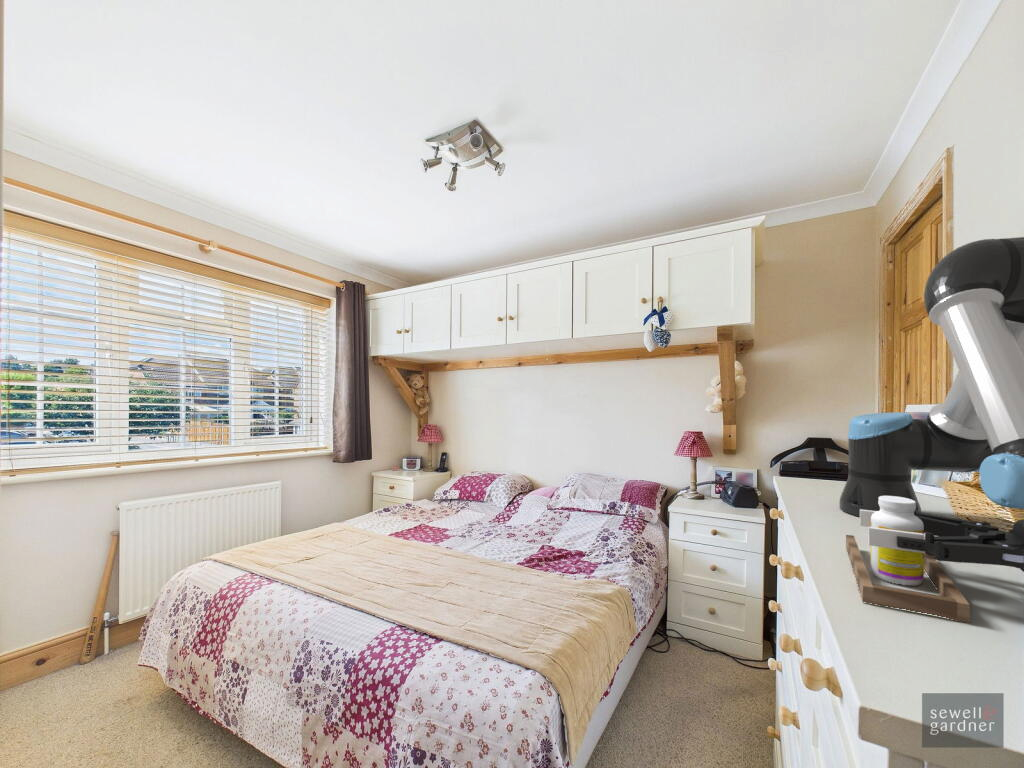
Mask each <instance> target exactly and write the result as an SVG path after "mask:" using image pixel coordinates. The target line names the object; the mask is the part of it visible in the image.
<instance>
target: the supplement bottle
mask: <svg viewBox="0 0 1024 768" xmlns="http://www.w3.org/2000/svg"><path fill="white" fill-rule="evenodd" d="M878 504H879V506H880V511H877V512H875V513H873V514H872V516H871V527H874V528H882V529H890V530H898V531H906V532H914V533H922V534H923V535H924V536H925V533H924V524H923V522H922V521H921V520H920V519H919V518H918V517H916V516H914V511H915V509H916V502H915V501H914V500H911V499H908V498H903V497H897V496H880V497H879V499H878ZM870 571H871V574H872V575H874V576H875V577H876V578H878V579H879V578H880V580H881V581H884V580H885V582H887V581H889V582H888V583H890V582H893V583H892V584H894V583H897V584H896V585H898V584H904V585H903V586H906V585H916V586H920V585H922V584H923V583H924V580H925V579H924V578H925V577H924V576H925V575H924V573H925V571H924V553H919V552H912V551H905V550H898V549H891V548H884V547H877V546H870Z"/></svg>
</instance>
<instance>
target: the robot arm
mask: <svg viewBox="0 0 1024 768" xmlns="http://www.w3.org/2000/svg"><path fill="white" fill-rule="evenodd" d="M923 299H924V300H923V301H924V309H926V313H927V315H928V318H929V320H930V322H932V323H933V324H934V325H936V326H940V328H941V329H942V332H943V335H944V337H945V339H946V342H947V344H948V347H949V350H950V352H951V353H952V357H953V358H954V362H955V364H956V366H957V368H958V372H957V373H956V375H955V378H954V380H953V382H952V384H951V387H950V388H949V390H948V392H947V395H946V397H945V398H944V401H943V403H938V404H935V405H934V406H932V407H931V409H930V410H929V412H928V414H927V416H926V418H914V417H913V416H912V413H911V414H910V413H908V412H903V411H901V412H899V411H898V412H897V411H896V412H895V411H894V412H875V413H868V414H860V415H858V416H854V417H853V418H852V419H850V421H849V423H848V433H847V439H848V475H847V476H848V477H847V480H846V482H845V485H844V487H843V489H842V492H841V495H840V496H839V497H840V498H839V509H840V511H843V512H844V513H847V514H850V515H853V516H856V517H859V526H861V527H868V529H867V530H868V531H867V534H868V536H867V538H868V541H867V543H868V546H870V547H871V546H877V547H884V548H891V549H898V550H905V551H912V552H919V553H924V551H925V554H927V555H930V556H934V559H935V560H936V561H937V562H938V561H939V562H953V563H962V564H963V563H965V564H967V563H968V564H978V565H980V564H981V565H994V566H1005V567H1010V568H1011V567H1012V568H1016V569H1020V571H1021V572H1023V573H1024V519H1019V520H1017V521H1015V523H1013V525H1012V529H1010V531H1006V530H1001V529H999V527H998V526H995V525H992V524H991V523H990V522H987V521H975V520H968V519H967V520H966V519H961V518H957V517H956V518H953V517H949V516H943V515H935V514H930V513H922V507H921V505H920V503H919V500H918V497H917V495H916V492H915V490H914V487H913V485H912V471H913V470H914V471H916V470H917V471H935V472H954V473H955V472H956V473H975V472H976V473H977V472H978V473H979V476H980V480H979V484H980V487H981V489H982V491H983V493H984V495H985V496H986V497H987V498H988V499H989V500H990V501H991V502H992V503H994V504H995V505H997V506H1001V507H1003V508H1010V509H1018V510H1024V236H1020V237H1008V238H1007V237H1005V238H987V239H986V238H985V239H984V238H983V239H980V240H976V241H972V242H969V243H966V244H963V245H961V246H958V247H956V248H955V249H954V250H952V251H950V252H948V254H946V255H945V256H944V257H942V258H941V259H940V261H939V262H938V263H937V264H936V265H935V266H934V268H933V269H932V271H931V272H930V274H929V276H928V277H927V279H926V282H925V287H924V293H923ZM880 496H897V497H903V498H908V499H911V500H914V501H915V502H916V509H915V511H914V516H916V517H918V518H919V519H920V520H921V521H922V522H923V524H924V535H923V534H922V533H914V532H906V531H898V530H890V529H882V528H874V527H871V516H872V514H873V513H875V512H877V511H880V506H879V504H878V499H879V497H880ZM924 537H925V540H924Z"/></svg>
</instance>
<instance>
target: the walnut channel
mask: <svg viewBox="0 0 1024 768" xmlns="http://www.w3.org/2000/svg"><path fill="white" fill-rule="evenodd" d="M857 543H858V542H857V540H856V538H855V535H851V534H845V549H846V552H848V553H847V555H848V558H849V559H848V560H849V563H850V562H851V563H850V565H852V566H851V569H852V568H853V569H852V573H853V576H854V575H855V576H854V579H855V578H856V579H855V582H856V581H857V582H856V584H858V586H857V588H858V587H859V589H858V592H859V591H860V592H859V594H861V595H860V598H862V599H861V602H862V601H863V602H866V603H872V604H877V605H880V606H879V607H882V606H888V607H893V608H899V609H906V610H910V611H915V612H921V613H927V614H932V615H937V616H941V617H946V618H949V619H953V620H952V621H955V620H957V621H956V622H960V621H961V623H965V622H966V624H970V611H971V610H970V607H971V606H970V603H969V602H968V600H966V598H965V597H964V596H963V594H962V593H961V591H960V590H959V589H958V587H957V586H956V585H955V583H954V582H953V581H952V579H951V578H950V576H949V575H948V574H947V572H946V571H944V569H943V568H942V567H941V565H940V564H939V562H938V560H936V559H934V557H933V556H930V555H927V554H925V551H924V570H925V571H924V573H925V572H926V573H927V574H926V573H925V574H926V576H927V575H928V576H929V577H928V576H927V577H928V579H929V578H930V579H931V580H930V579H929V580H930V582H931V581H932V582H933V583H932V582H931V583H932V585H933V584H934V585H935V586H934V585H933V586H934V588H935V587H936V588H937V589H936V588H935V589H936V591H937V590H938V591H937V592H939V593H940V594H939V593H938V594H939V595H938V594H932V593H926V592H921V591H915V590H910V589H904V588H900V587H899V588H898V587H894V586H893V587H892V586H887V585H882V584H875V583H872V581H871V579H870V575H869V572H868V570H867V567H866V565H865V562H864V560H863V556H862V554H861V551H860V549H859V546H858V544H857ZM940 595H941V596H940ZM863 602H862V603H863ZM866 603H865V604H866ZM949 619H948V620H949Z"/></svg>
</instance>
